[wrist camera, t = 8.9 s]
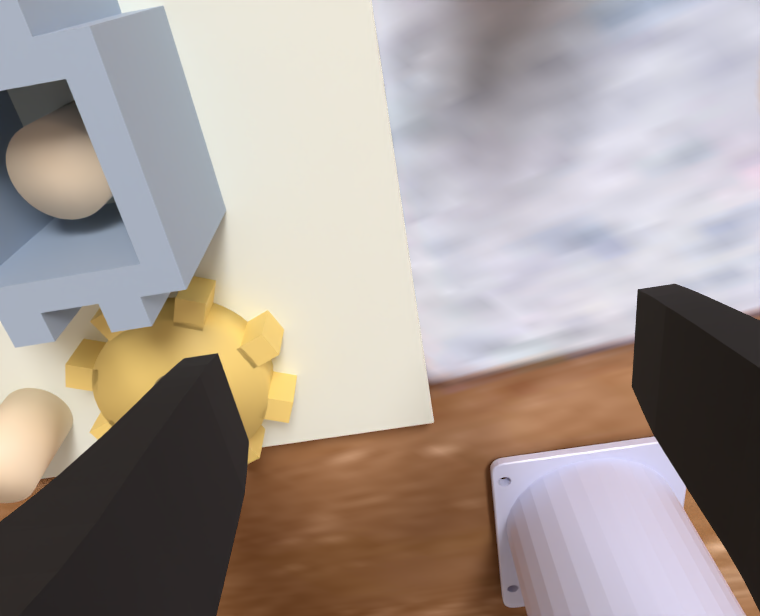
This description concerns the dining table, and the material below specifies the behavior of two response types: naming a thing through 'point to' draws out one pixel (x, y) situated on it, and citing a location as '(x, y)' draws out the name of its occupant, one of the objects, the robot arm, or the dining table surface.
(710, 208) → the dining table surface
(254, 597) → the dining table surface
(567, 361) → the dining table surface
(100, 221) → the ridged hollow box frame
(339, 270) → the board
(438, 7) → the dining table surface
